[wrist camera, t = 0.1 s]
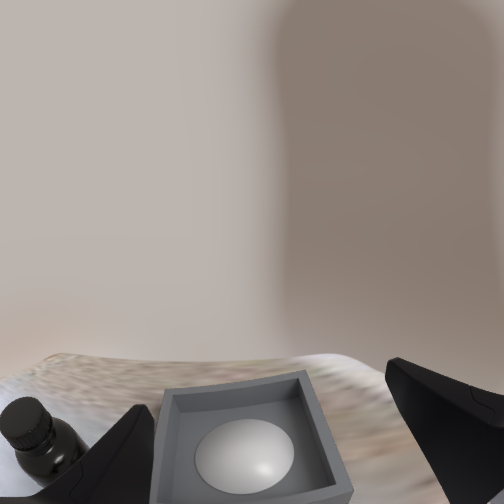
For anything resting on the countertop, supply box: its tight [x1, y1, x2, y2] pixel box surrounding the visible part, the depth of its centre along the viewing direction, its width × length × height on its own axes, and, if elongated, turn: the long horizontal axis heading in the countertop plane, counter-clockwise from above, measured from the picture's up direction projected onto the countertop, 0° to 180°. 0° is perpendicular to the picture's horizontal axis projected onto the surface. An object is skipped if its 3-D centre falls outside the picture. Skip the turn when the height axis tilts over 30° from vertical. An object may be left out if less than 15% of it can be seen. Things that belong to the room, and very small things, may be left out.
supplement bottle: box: [0, 396, 90, 488], centre depth 13 cm, size 7×7×12 cm
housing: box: [149, 370, 354, 504], centre depth 20 cm, size 15×15×4 cm
